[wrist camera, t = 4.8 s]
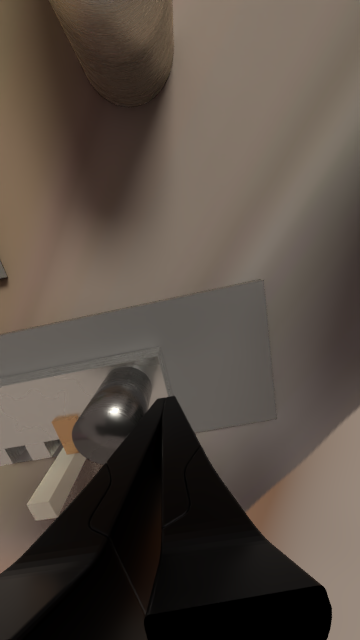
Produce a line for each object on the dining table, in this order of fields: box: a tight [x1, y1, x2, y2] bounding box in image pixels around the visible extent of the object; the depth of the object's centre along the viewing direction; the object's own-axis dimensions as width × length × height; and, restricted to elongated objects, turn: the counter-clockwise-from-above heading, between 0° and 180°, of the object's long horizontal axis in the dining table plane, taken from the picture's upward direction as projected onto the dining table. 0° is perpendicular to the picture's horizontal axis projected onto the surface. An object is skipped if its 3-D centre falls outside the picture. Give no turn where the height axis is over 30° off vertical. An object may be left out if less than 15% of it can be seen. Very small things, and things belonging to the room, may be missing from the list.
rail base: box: [0, 279, 277, 521], centre depth 11 cm, size 19×9×4 cm, turn 102°
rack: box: [0, 347, 173, 466], centre depth 10 cm, size 13×5×4 cm, turn 102°
